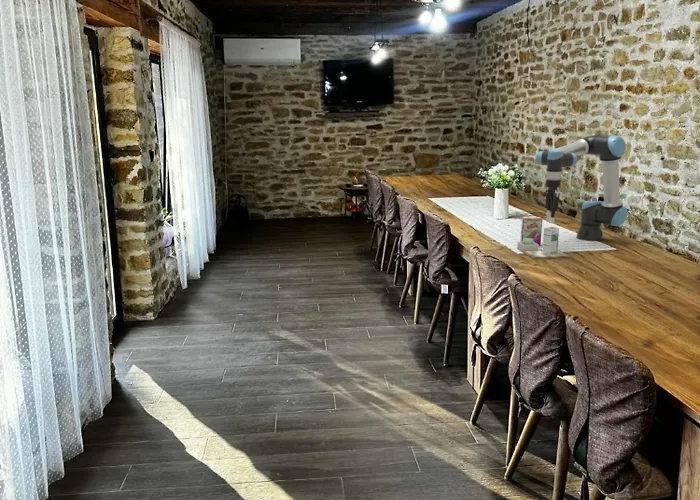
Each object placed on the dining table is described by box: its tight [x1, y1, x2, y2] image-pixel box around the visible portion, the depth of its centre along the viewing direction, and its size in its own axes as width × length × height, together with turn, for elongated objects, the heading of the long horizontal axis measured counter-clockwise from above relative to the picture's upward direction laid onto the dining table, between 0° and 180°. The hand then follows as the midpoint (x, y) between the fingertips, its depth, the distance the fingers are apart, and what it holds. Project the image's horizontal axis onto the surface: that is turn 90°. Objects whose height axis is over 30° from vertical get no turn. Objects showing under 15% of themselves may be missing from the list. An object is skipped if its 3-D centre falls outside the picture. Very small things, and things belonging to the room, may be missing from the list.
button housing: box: [516, 241, 540, 253], centre depth 347 cm, size 9×9×4 cm
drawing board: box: [522, 249, 572, 260], centre depth 335 cm, size 21×15×1 cm
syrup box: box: [541, 226, 560, 255], centre depth 333 cm, size 6×6×14 cm
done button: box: [523, 238, 534, 245], centre depth 346 cm, size 6×6×4 cm
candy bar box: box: [519, 216, 543, 246], centre depth 359 cm, size 11×5×16 cm, turn 84°
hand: (550, 222), depth 330 cm, fingers open, 3 cm apart
